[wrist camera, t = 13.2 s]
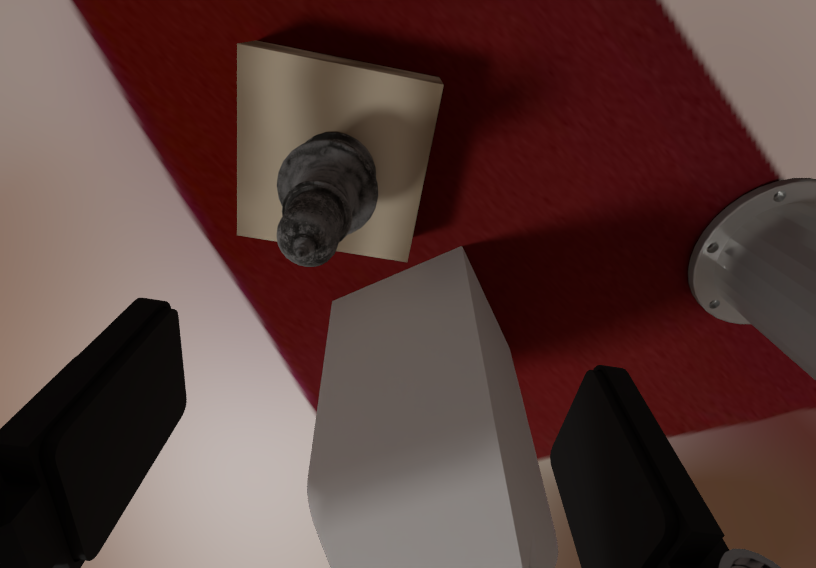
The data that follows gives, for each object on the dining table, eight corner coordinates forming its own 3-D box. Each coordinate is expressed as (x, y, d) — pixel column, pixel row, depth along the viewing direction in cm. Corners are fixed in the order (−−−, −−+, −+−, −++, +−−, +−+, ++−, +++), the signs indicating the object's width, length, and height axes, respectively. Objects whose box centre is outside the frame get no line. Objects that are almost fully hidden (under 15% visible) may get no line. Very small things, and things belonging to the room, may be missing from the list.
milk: (462, 245, 37) (552, 598, 15) (509, 348, 42) (630, 725, 20) (332, 301, 40) (238, 674, 17) (392, 391, 45) (381, 769, 22)
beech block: (439, 77, 31) (443, 84, 27) (406, 239, 37) (407, 262, 33) (256, 40, 30) (237, 43, 26) (253, 213, 36) (237, 234, 32)
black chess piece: (355, 110, 28) (328, 164, 18) (395, 196, 31) (391, 286, 20) (272, 149, 29) (200, 222, 19) (317, 228, 32) (276, 330, 21)
